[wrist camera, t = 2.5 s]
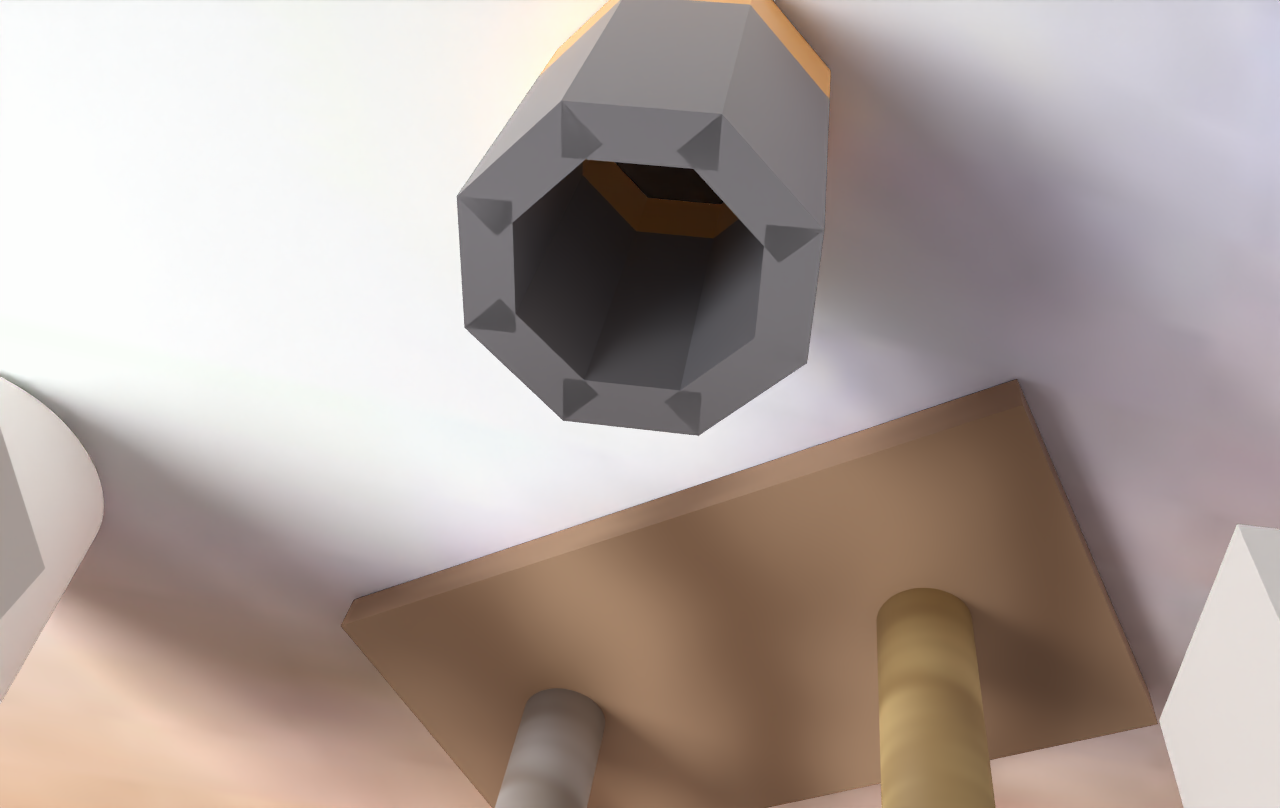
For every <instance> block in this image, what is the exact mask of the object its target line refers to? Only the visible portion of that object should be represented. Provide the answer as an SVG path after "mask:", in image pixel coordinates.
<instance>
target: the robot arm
mask: <svg viewBox="0 0 1280 808" xmlns="http://www.w3.org/2000/svg"><path fill="white" fill-rule="evenodd" d="M44 569H45V566H44V563H43V560H42V557H41V553H40V550H39V547H38V544H37V541H36V538H35V535H34V532H33V528H32V525H31V522H30V519H29V516H28V513H27V510H26V506H25V503H24V500H23V497H22V494H21V491H20V488H19V484H18V481H17V478H16V475H15V472H14V469H13V466H12V462H11V459H10V456H9V453H8V450H7V447H6V444H5V441H4V437H3V434H2V431H1V428H0V619H1V618H2V617H3V616H4V615H5V614H6V612H7V611H8V610H9V609H10V608H11V607H12V606H13V604H14V603H15V602H16V601H17V600H18V599H19V598H20V597H21V595H22V594H23V593H24V592H25V591H26V590H27V589H28V587H29V586H30V585H31V584H32V583H33V582H34V581H35V580H36V578H37V577H38V576H39V575H40V574H41V573H42V572H43V571H44ZM1159 722H1160V725H1161V729H1162V732H1163V736H1164V740H1165V743H1166V747H1167V750H1168V754H1169V757H1170V761H1171V764H1172V768H1173V771H1174V775H1175V778H1176V782H1177V785H1178V789H1179V793H1180V796H1181V800H1182V803H1183V807H1184V808H1280V529H1276V528H1267V527H1259V526H1250V525H1242V524H1237V526H1236V528H1235V531H1234V533H1233V536H1232V538H1231V541H1230V543H1229V546H1228V549H1227V551H1226V554H1225V556H1224V559H1223V561H1222V564H1221V566H1220V569H1219V571H1218V574H1217V576H1216V579H1215V581H1214V584H1213V586H1212V589H1211V591H1210V594H1209V596H1208V599H1207V601H1206V604H1205V606H1204V609H1203V611H1202V614H1201V616H1200V619H1199V621H1198V624H1197V626H1196V629H1195V631H1194V634H1193V637H1192V639H1191V642H1190V644H1189V647H1188V649H1187V652H1186V654H1185V657H1184V659H1183V662H1182V664H1181V667H1180V669H1179V672H1178V674H1177V677H1176V679H1175V682H1174V684H1173V687H1172V689H1171V692H1170V694H1169V697H1168V699H1167V702H1166V704H1165V707H1164V709H1163V712H1162V714H1161V717H1160V719H1159Z"/></svg>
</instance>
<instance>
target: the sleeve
mask: <svg viewBox="0 0 1280 808" xmlns="http://www.w3.org/2000/svg"><path fill="white" fill-rule="evenodd" d="M830 77H831V71H830V69H829V68H828V67H827V66H826V65H825V63H824V62H823V61H822V60H821V59H820V57H819V56H818V55H817V54H816V53H815V51H814V50H813V49H812V48H811V46H810V45H809V44H808V43H807V42H806V40H805V39H804V38H803V37H802V36H801V34H800V33H799V32H798V31H797V30H796V28H795V27H794V26H793V25H792V24H791V22H790V21H789V20H788V19H787V18H786V16H785V15H784V14H783V13H782V12H781V10H780V9H779V8H778V7H777V5H776V4H775V3H774V2H773V1H772V0H609V1H608V2H607V3H606V4H605V5H604V6H603V7H602V8H601V9H600V10H599V11H598V12H597V13H596V14H595V15H593V16H592V17H591V18H590V19H589V20H588V21H587V22H586V23H585V24H584V25H583V26H582V27H581V28H580V29H579V30H578V31H577V32H576V33H574V34H573V35H572V36H571V37H570V38H569V39H568V40H567V41H566V42H565V43H564V44H563V45H562V46H561V47H560V48H559V49H558V50H557V51H556V52H555V54H554V55H553V57H552V58H551V60H550V61H549V63H548V64H547V65H546V67H545V68H544V70H543V71H542V73H541V74H540V76H539V77H538V79H537V80H536V81H535V83H534V84H533V86H532V87H531V89H530V90H529V92H528V93H527V95H526V96H525V97H524V99H523V100H522V102H521V103H520V105H519V106H518V108H517V109H516V111H515V112H514V114H513V115H512V116H511V118H510V119H509V121H508V122H507V124H506V125H505V127H504V128H503V130H502V131H501V132H500V134H499V135H498V137H497V138H496V140H495V141H494V143H493V144H492V146H491V147H490V148H489V150H488V151H487V153H486V154H485V156H484V157H483V159H482V160H481V162H480V163H479V165H478V166H477V167H476V169H475V170H474V172H473V173H472V175H471V176H470V178H469V179H468V181H467V182H466V183H465V185H464V186H463V188H462V189H461V191H460V192H459V194H458V195H457V208H458V224H459V241H460V258H461V275H462V291H463V308H464V325H465V328H466V329H467V330H468V331H469V332H470V333H471V334H472V335H473V336H474V337H475V338H476V339H477V340H478V341H479V342H480V343H482V344H483V345H484V346H485V347H486V348H487V349H488V350H489V351H490V352H491V353H492V354H493V355H494V356H495V357H496V358H497V359H498V360H500V361H501V362H502V363H503V364H504V365H505V366H506V367H507V368H508V369H509V370H510V371H511V372H512V373H513V374H514V375H515V376H517V377H518V378H519V379H520V380H521V381H522V382H523V383H524V384H525V385H526V386H527V387H528V388H529V389H530V390H531V391H532V392H533V393H535V394H536V395H537V396H538V397H539V398H540V399H541V400H542V401H543V402H544V403H545V404H546V405H547V406H548V407H549V408H550V409H551V410H553V411H554V412H555V413H556V414H557V415H558V416H559V417H560V418H561V419H562V420H563V421H572V422H581V423H590V424H599V425H608V426H617V427H626V428H635V429H644V430H653V431H662V432H671V433H680V434H689V435H698V436H699V435H700V434H702V433H703V432H705V431H706V430H708V429H709V428H711V427H712V426H714V425H715V424H717V423H718V422H720V421H721V420H723V419H724V418H726V417H727V416H728V415H730V414H731V413H733V412H734V411H736V410H737V409H739V408H740V407H742V406H743V405H745V404H746V403H748V402H749V401H751V400H752V399H754V398H755V397H757V396H758V395H760V394H761V393H763V392H764V391H766V390H767V389H769V388H770V387H772V386H773V385H775V384H776V383H778V382H779V381H781V380H782V379H784V378H785V377H787V376H788V375H790V374H791V373H793V372H794V371H796V370H797V369H799V368H800V367H802V366H803V365H805V364H806V363H807V359H808V351H809V343H810V336H811V328H812V320H813V313H814V305H815V297H816V290H817V282H818V274H819V267H820V259H821V251H822V244H823V236H824V229H825V204H826V179H827V153H828V128H829V102H830ZM615 162H621V163H633V164H644V165H656V166H667V167H679V168H690V169H694V170H695V171H696V172H697V173H698V174H699V175H700V177H701V178H702V179H703V180H704V181H705V182H706V183H707V184H708V185H709V186H710V188H711V189H712V190H713V191H714V192H715V193H716V194H717V195H718V196H719V197H720V198H721V200H722V201H723V203H722V204H712V203H700V202H689V201H678V200H667V199H656V198H648V197H647V196H646V195H645V194H644V193H643V192H642V191H641V190H640V189H639V188H638V187H637V186H636V185H635V183H634V182H633V181H632V180H631V179H630V178H629V177H628V176H627V175H626V174H625V173H624V172H623V171H622V170H621V169H620V167H619V166H618V165H617V164H616V163H615Z"/></svg>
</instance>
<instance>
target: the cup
mask: <svg viewBox="0 0 1280 808" xmlns="http://www.w3.org/2000/svg"><path fill="white" fill-rule="evenodd" d="M0 428H1V431H2V434H3V437H4V441H5V444H6V447H7V450H8V453H9V456H10V459H11V462H12V466H13V469H14V472H15V475H16V478H17V481H18V484H19V488H20V491H21V494H22V497H23V500H24V503H25V506H26V510H27V513H28V516H29V519H30V522H31V525H32V528H33V532H34V535H35V538H36V541H37V544H38V547H39V550H40V553H41V557H42V560H43V563H44V566H45V569H44V571H43V572H42V573H41V574H40V575H39V576H38V577H37V578H36V580H35V581H34V582H33V583H32V584H31V585H30V586H29V587H28V589H27V590H26V591H25V592H24V593H23V594H22V595H21V597H20V598H19V599H18V600H17V601H16V602H15V603H14V604H13V606H12V607H11V608H10V609H9V610H8V611H7V612H6V614H5V615H4V616H3V617H2V618H1V619H0V704H1V702H2V701H3V699H4V697H5V695H6V693H7V692H8V690H9V688H10V686H11V685H12V683H13V681H14V679H15V678H16V676H17V674H18V672H19V671H20V669H21V667H22V665H23V664H24V662H25V660H26V658H27V657H28V655H29V653H30V651H31V649H32V648H33V646H34V644H35V642H36V641H37V639H38V637H39V635H40V634H41V632H42V630H43V628H44V627H45V625H46V623H47V621H48V620H49V618H50V616H51V614H52V612H53V611H54V609H55V607H56V605H57V604H58V602H59V600H60V598H61V597H62V595H63V593H64V591H65V590H66V588H67V586H68V584H69V583H70V581H71V579H72V577H73V575H74V574H75V572H76V570H77V568H78V567H79V565H80V563H81V561H82V560H83V558H84V556H85V554H86V553H87V551H88V549H89V547H90V546H91V544H92V542H93V540H94V538H95V537H96V535H97V533H98V531H99V529H100V526H101V523H102V519H103V513H104V497H103V490H102V486H101V482H100V479H99V476H98V473H97V471H96V468H95V466H94V464H93V462H92V460H91V458H90V457H89V455H88V453H87V451H86V450H85V448H84V447H83V445H82V444H81V443H80V441H79V440H78V438H77V437H76V436H75V435H74V433H73V432H72V431H71V430H70V429H69V428H68V426H67V425H66V424H65V423H64V422H63V421H62V420H61V419H60V418H59V417H58V416H57V415H56V414H55V413H53V412H52V411H51V410H50V409H49V408H48V407H46V406H45V405H44V404H43V403H42V402H40V401H39V400H38V399H36V398H35V397H33V396H32V395H31V394H29V393H28V392H26V391H25V390H23V389H21V388H20V387H18V386H16V385H15V384H13V383H11V382H9V381H7V380H5V379H3V378H1V377H0Z"/></svg>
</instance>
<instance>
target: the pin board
mask: <svg viewBox="0 0 1280 808" xmlns="http://www.w3.org/2000/svg"><path fill="white" fill-rule="evenodd" d="M341 627H342V628H343V629H344V631H345V632H346V633H347V634H348V635H349V637H350V638H351V639H352V640H353V641H354V643H355V644H356V645H357V646H358V647H359V649H360V650H361V651H362V652H363V653H364V655H365V656H366V657H367V658H368V659H369V661H370V662H371V663H372V664H373V665H374V667H375V668H376V669H377V670H378V671H379V673H380V674H381V675H382V676H383V677H384V679H385V680H386V681H387V682H388V683H389V685H390V686H391V687H392V688H393V689H394V691H395V692H396V693H397V694H398V695H399V696H400V698H401V699H402V700H403V701H404V702H405V704H406V705H407V706H408V707H409V708H410V710H411V711H412V712H413V713H414V714H415V716H416V717H417V718H418V719H419V720H420V722H421V723H422V724H423V725H424V726H425V728H426V729H427V730H428V731H429V732H430V734H431V735H432V736H433V737H434V738H435V740H436V741H437V742H438V743H439V744H440V746H441V747H442V748H443V749H444V750H445V752H446V753H447V754H448V755H449V756H450V758H451V759H452V760H453V761H454V762H455V764H456V765H457V766H458V767H459V768H460V770H461V771H462V772H463V773H464V774H465V776H466V777H467V778H468V779H469V780H470V782H471V783H472V784H473V785H474V786H475V788H476V789H477V790H478V791H479V792H480V794H481V795H482V796H483V797H484V798H485V800H486V801H487V802H488V803H489V804H490V806H491V807H492V808H768V807H772V806H777V805H782V804H786V803H791V802H796V801H800V800H805V799H810V798H815V797H819V796H824V795H829V794H833V793H838V792H843V791H847V790H852V789H857V788H861V787H866V786H871V785H875V784H880V783H881V800H882V808H995V800H994V792H993V784H992V776H991V768H990V760H992V759H997V758H1001V757H1006V756H1011V755H1015V754H1020V753H1025V752H1029V751H1034V750H1039V749H1044V748H1048V747H1053V746H1058V745H1062V744H1067V743H1072V742H1076V741H1081V740H1086V739H1090V738H1095V737H1100V736H1104V735H1109V734H1114V733H1118V732H1123V731H1128V730H1132V729H1137V728H1142V727H1146V726H1151V725H1156V724H1158V723H1157V719H1156V715H1155V712H1154V708H1153V705H1152V701H1151V698H1150V694H1149V691H1148V689H1147V687H1146V684H1145V682H1144V679H1143V677H1142V675H1141V672H1140V670H1139V668H1138V665H1137V663H1136V660H1135V658H1134V656H1133V653H1132V651H1131V649H1130V646H1129V644H1128V641H1127V639H1126V637H1125V634H1124V632H1123V630H1122V627H1121V625H1120V622H1119V620H1118V618H1117V615H1116V613H1115V611H1114V608H1113V606H1112V603H1111V601H1110V599H1109V596H1108V594H1107V592H1106V589H1105V587H1104V584H1103V582H1102V580H1101V577H1100V575H1099V572H1098V570H1097V568H1096V565H1095V563H1094V561H1093V558H1092V556H1091V553H1090V551H1089V549H1088V546H1087V544H1086V542H1085V539H1084V537H1083V534H1082V532H1081V530H1080V527H1079V525H1078V523H1077V520H1076V518H1075V515H1074V513H1073V511H1072V508H1071V506H1070V504H1069V501H1068V499H1067V496H1066V494H1065V492H1064V489H1063V487H1062V484H1061V482H1060V480H1059V477H1058V475H1057V473H1056V470H1055V468H1054V465H1053V463H1052V461H1051V458H1050V456H1049V454H1048V451H1047V449H1046V446H1045V444H1044V442H1043V439H1042V437H1041V435H1040V432H1039V430H1038V427H1037V425H1036V423H1035V420H1034V418H1033V416H1032V413H1031V411H1030V408H1029V406H1028V404H1027V401H1026V399H1025V397H1024V394H1023V392H1022V389H1021V387H1020V385H1019V382H1018V380H1017V379H1015V380H1012V381H1009V382H1006V383H1003V384H1000V385H997V386H994V387H991V388H988V389H985V390H982V391H979V392H976V393H973V394H970V395H967V396H964V397H961V398H958V399H955V400H952V401H949V402H946V403H943V404H940V405H937V406H934V407H931V408H928V409H925V410H922V411H919V412H916V413H913V414H910V415H907V416H904V417H901V418H898V419H895V420H892V421H889V422H886V423H883V424H880V425H877V426H874V427H871V428H868V429H865V430H862V431H859V432H856V433H853V434H850V435H847V436H844V437H841V438H838V439H835V440H832V441H829V442H826V443H823V444H820V445H817V446H814V447H811V448H808V449H805V450H802V451H799V452H796V453H793V454H790V455H787V456H784V457H781V458H778V459H775V460H772V461H769V462H766V463H763V464H760V465H757V466H754V467H751V468H748V469H745V470H742V471H739V472H736V473H733V474H730V475H727V476H724V477H721V478H718V479H715V480H712V481H709V482H706V483H703V484H700V485H697V486H694V487H691V488H688V489H685V490H682V491H679V492H676V493H673V494H670V495H667V496H664V497H661V498H658V499H655V500H652V501H649V502H646V503H643V504H640V505H637V506H634V507H631V508H628V509H625V510H622V511H619V512H616V513H613V514H610V515H607V516H604V517H601V518H598V519H595V520H592V521H589V522H586V523H583V524H580V525H577V526H574V527H571V528H568V529H565V530H562V531H559V532H556V533H553V534H550V535H547V536H544V537H541V538H538V539H535V540H532V541H529V542H526V543H523V544H520V545H517V546H514V547H511V548H508V549H505V550H502V551H499V552H496V553H493V554H490V555H487V556H484V557H481V558H478V559H475V560H472V561H469V562H466V563H463V564H460V565H457V566H454V567H451V568H448V569H445V570H442V571H439V572H436V573H433V574H430V575H427V576H424V577H421V578H418V579H415V580H412V581H409V582H406V583H403V584H400V585H397V586H394V587H391V588H388V589H385V590H382V591H379V592H376V593H373V594H370V595H367V596H364V597H361V598H358V599H355V600H354V601H353V603H352V605H351V606H350V608H349V610H348V612H347V614H346V616H345V618H344V620H343V622H342V624H341Z"/></svg>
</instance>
